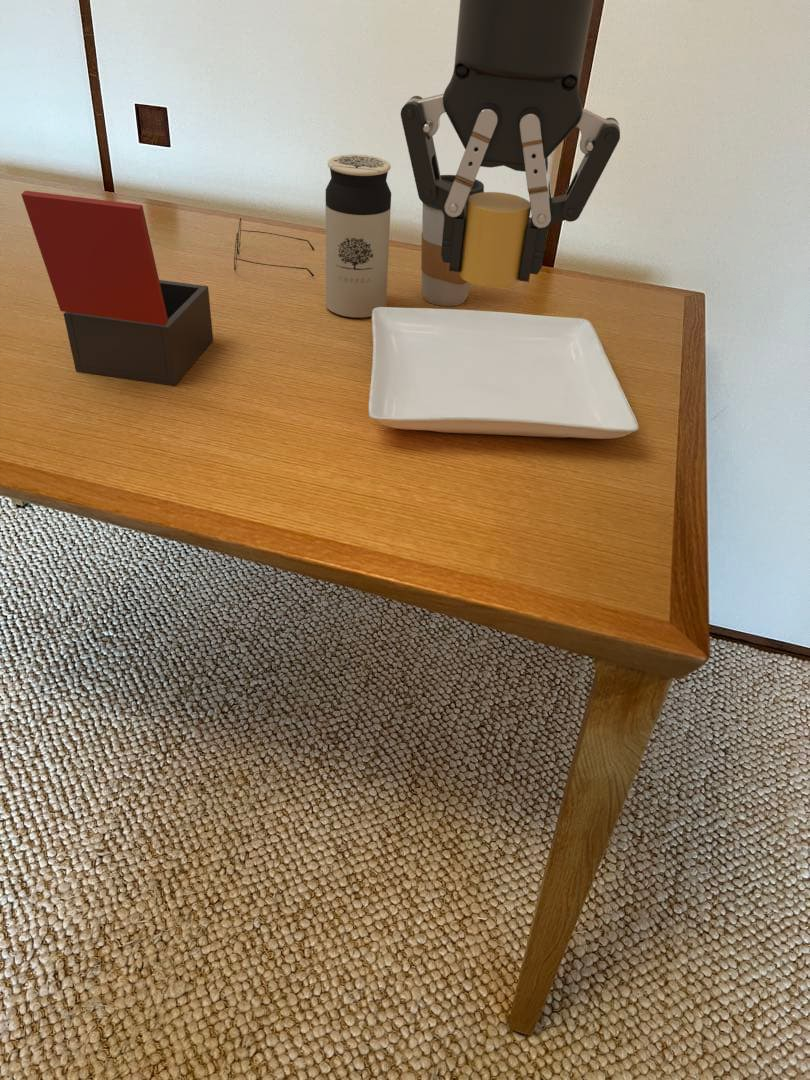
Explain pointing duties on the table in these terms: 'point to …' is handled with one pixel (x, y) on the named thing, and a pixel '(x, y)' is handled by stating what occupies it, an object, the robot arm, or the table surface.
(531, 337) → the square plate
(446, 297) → the coffee cup
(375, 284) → the travel mug
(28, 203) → the box lid
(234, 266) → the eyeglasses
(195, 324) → the open box
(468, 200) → the mustard yellow cylinder
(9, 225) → the table surface
